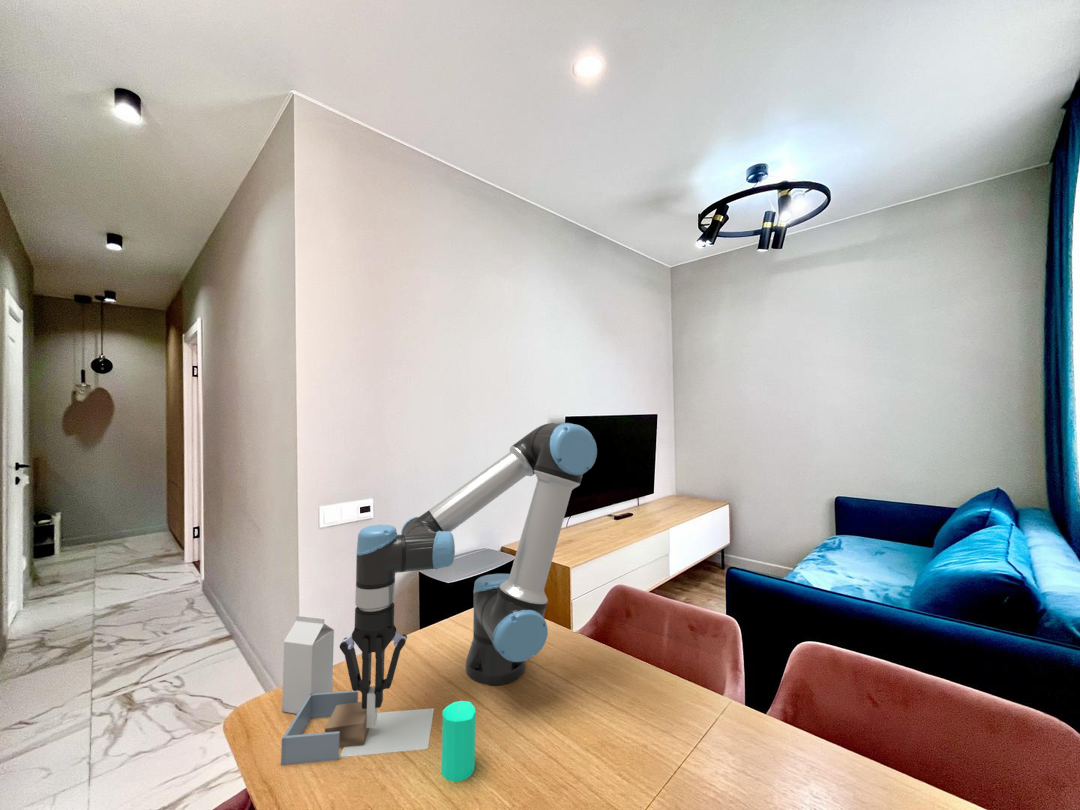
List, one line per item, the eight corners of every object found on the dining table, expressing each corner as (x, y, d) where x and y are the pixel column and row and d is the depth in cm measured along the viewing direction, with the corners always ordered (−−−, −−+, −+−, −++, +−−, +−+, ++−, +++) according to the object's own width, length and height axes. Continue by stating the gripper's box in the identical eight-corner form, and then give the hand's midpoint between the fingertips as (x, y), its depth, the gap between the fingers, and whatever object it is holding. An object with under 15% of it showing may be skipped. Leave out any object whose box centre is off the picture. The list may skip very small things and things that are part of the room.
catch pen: (357, 714, 94) (358, 690, 94) (338, 761, 81) (338, 733, 81) (308, 718, 92) (309, 693, 93) (280, 766, 79) (281, 738, 80)
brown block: (372, 719, 91) (371, 700, 91) (363, 744, 84) (363, 723, 85) (337, 724, 90) (336, 705, 90) (325, 750, 83) (324, 728, 84)
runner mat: (434, 709, 95) (434, 708, 95) (427, 750, 84) (427, 748, 84) (357, 715, 93) (357, 714, 93) (339, 758, 81) (339, 757, 81)
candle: (446, 788, 75) (447, 716, 75) (437, 764, 80) (438, 697, 81) (479, 775, 78) (480, 706, 78) (468, 753, 83) (469, 688, 84)
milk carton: (310, 716, 93) (312, 626, 94) (281, 712, 94) (284, 622, 95) (332, 696, 100) (334, 611, 101) (305, 692, 101) (307, 609, 102)
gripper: (410, 595, 94) (408, 708, 93) (346, 598, 92) (343, 713, 91) (405, 610, 86) (401, 733, 85) (335, 613, 84) (331, 739, 83)
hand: (371, 723), depth 88 cm, fingers closed
